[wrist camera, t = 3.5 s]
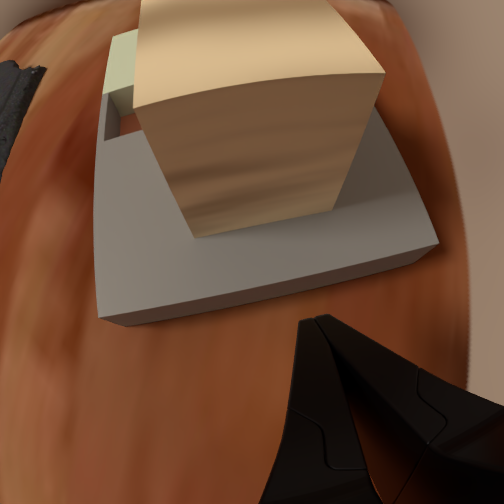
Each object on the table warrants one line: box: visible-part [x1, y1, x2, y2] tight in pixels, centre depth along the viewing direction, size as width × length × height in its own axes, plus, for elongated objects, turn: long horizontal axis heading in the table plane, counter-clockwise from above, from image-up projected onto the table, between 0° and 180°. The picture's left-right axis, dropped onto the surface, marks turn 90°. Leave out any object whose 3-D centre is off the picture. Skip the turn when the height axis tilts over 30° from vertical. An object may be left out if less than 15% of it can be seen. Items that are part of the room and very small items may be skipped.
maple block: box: [133, 0, 386, 238], centre depth 13 cm, size 8×7×9 cm
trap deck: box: [94, 29, 439, 327], centre depth 21 cm, size 25×18×4 cm
